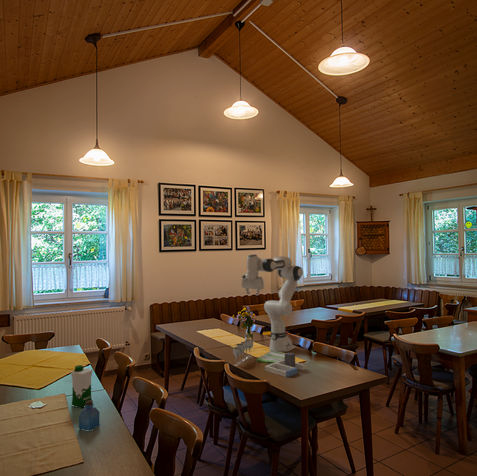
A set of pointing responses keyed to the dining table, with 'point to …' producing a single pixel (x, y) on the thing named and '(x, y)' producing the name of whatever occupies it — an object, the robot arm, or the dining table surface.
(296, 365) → the white tray
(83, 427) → the perfume bottle
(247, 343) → the goblet set
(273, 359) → the dish towel
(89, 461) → the dining table surface
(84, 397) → the milk carton
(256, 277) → the robot arm
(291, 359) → the cord plug
